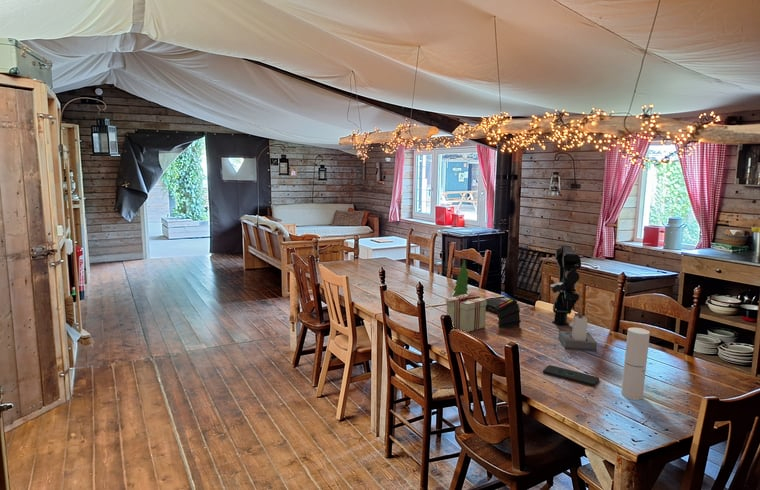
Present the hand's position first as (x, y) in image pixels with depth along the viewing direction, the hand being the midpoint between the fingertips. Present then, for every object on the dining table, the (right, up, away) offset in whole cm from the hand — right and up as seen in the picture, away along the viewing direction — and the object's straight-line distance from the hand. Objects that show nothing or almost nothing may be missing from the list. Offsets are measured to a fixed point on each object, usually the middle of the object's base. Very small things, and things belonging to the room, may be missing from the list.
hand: (566, 308), depth 252 cm
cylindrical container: (0, -24, -66) cm, 70 cm away
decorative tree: (-47, -6, +40) cm, 62 cm away
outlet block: (0, -15, -14) cm, 21 cm away
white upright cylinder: (-1, -15, -16) cm, 22 cm away
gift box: (-51, -11, +10) cm, 53 cm away
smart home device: (-17, -22, -50) cm, 57 cm away
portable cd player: (-24, -6, +45) cm, 51 cm away
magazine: (-27, -11, +11) cm, 31 cm away
